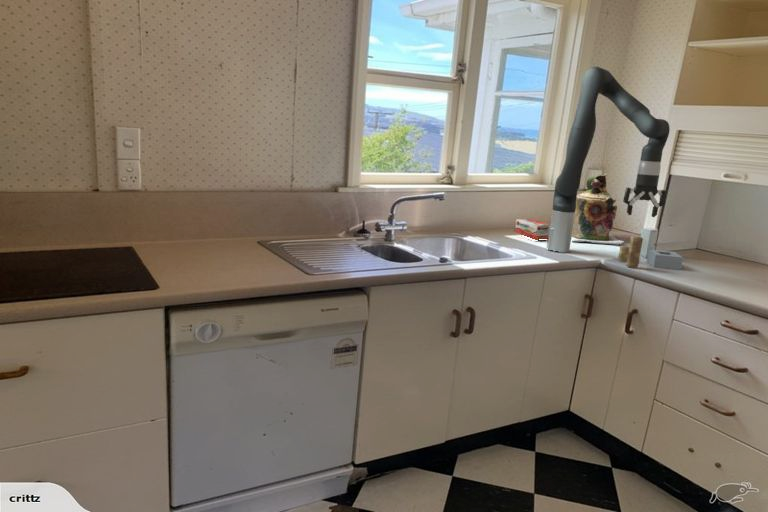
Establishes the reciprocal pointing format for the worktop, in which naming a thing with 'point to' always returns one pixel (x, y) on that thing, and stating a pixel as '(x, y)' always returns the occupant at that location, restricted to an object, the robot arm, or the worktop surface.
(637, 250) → the long pin
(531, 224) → the medicine box
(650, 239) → the skincare box
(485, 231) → the worktop surface
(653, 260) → the socket block
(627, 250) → the short pin
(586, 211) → the cookie jar
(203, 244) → the worktop surface
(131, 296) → the worktop surface
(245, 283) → the worktop surface
